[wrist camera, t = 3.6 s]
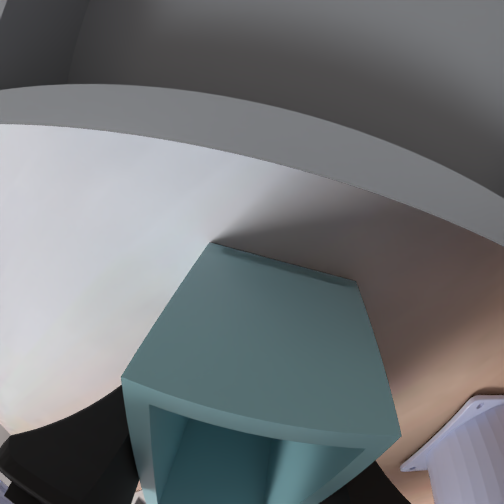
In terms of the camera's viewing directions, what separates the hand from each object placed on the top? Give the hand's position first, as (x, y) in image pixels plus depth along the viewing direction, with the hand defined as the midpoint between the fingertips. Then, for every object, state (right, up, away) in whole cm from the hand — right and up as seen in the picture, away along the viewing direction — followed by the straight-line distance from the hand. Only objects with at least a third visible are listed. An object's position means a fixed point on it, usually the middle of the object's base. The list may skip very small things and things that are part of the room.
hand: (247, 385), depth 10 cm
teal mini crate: (0, +1, +1) cm, 1 cm away
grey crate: (+4, +14, -5) cm, 15 cm away
